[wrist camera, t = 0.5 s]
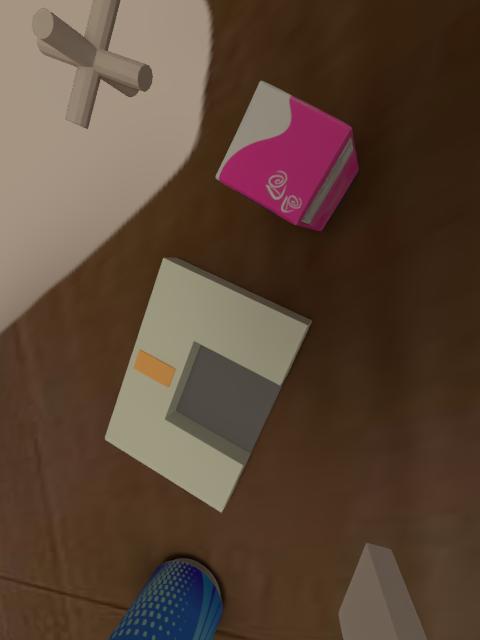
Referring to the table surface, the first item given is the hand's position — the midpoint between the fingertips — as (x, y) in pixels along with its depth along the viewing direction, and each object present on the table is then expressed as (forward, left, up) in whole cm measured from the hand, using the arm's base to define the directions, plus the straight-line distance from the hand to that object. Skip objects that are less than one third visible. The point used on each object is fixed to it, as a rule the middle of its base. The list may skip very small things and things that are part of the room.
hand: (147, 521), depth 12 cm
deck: (+9, +4, -24) cm, 25 cm away
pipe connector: (+17, -23, -24) cm, 37 cm away
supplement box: (0, -14, -24) cm, 27 cm away
